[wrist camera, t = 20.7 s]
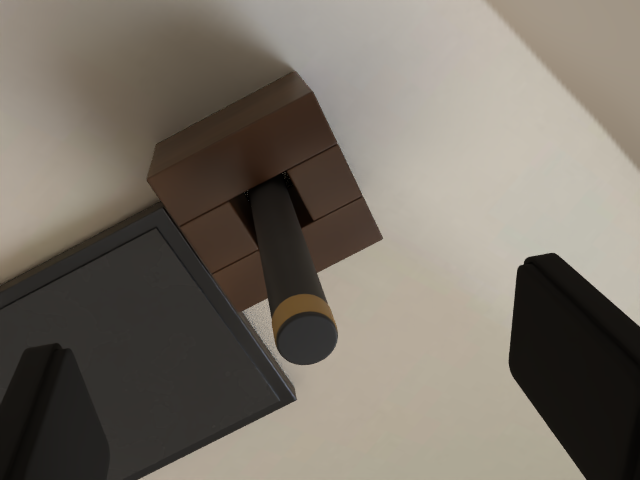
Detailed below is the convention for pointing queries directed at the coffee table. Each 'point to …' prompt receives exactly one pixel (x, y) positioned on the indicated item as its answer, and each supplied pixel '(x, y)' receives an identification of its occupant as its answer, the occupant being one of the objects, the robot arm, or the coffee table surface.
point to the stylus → (290, 278)
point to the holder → (253, 169)
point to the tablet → (145, 341)
